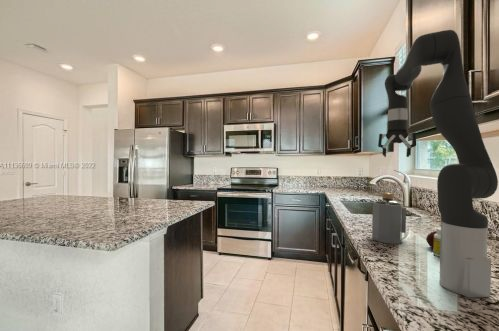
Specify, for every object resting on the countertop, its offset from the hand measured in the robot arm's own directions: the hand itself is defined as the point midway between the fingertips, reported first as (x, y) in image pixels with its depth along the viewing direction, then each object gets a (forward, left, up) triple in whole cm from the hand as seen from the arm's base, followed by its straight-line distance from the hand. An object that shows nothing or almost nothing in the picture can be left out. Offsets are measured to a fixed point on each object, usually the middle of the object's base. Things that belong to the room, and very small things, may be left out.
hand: (396, 156), depth 105 cm
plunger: (-1, +4, -34) cm, 35 cm away
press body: (-1, +3, -36) cm, 37 cm away
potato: (-12, -10, -37) cm, 40 cm away
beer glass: (+11, -6, -37) cm, 39 cm away
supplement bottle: (-19, -5, -37) cm, 42 cm away
